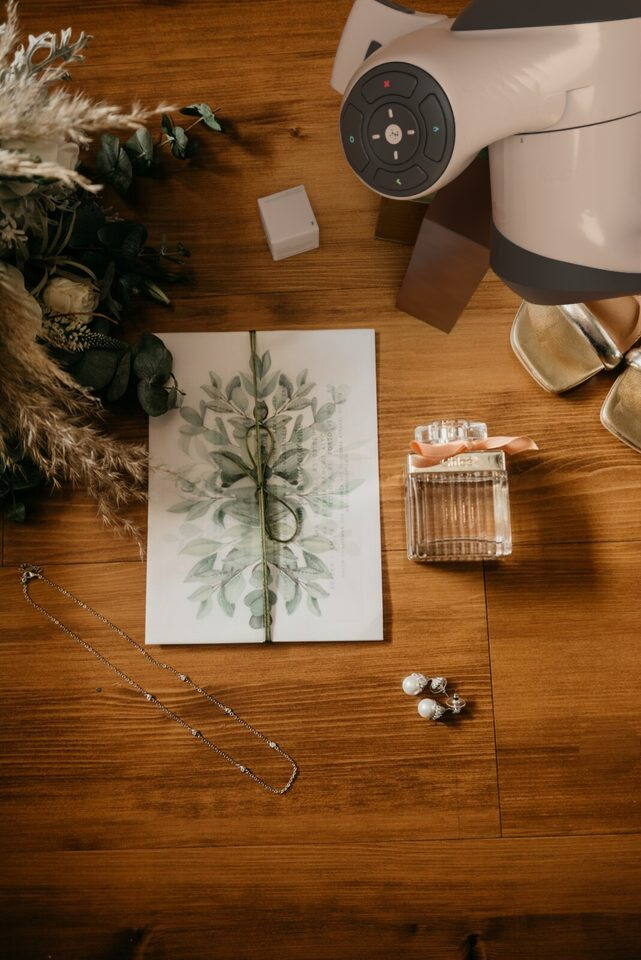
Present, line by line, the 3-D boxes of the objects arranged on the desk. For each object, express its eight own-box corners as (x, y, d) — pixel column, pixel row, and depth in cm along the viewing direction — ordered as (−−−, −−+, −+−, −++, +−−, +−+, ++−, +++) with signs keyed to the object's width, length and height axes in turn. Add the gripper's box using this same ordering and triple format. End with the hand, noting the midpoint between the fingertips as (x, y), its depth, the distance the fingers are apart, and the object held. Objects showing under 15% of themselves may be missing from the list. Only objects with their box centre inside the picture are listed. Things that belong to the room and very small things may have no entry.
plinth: (475, 282, 84) (534, 183, 61) (448, 334, 83) (497, 254, 60) (421, 255, 84) (460, 147, 61) (394, 307, 83) (423, 217, 61)
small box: (305, 203, 85) (304, 182, 80) (320, 248, 84) (320, 229, 79) (259, 218, 84) (255, 198, 79) (274, 263, 84) (271, 245, 79)
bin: (492, 158, 85) (516, 103, 75) (476, 256, 84) (499, 215, 73) (390, 141, 85) (400, 84, 75) (374, 239, 84) (381, 195, 74)
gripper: (603, 110, 49) (607, 82, 60) (338, -19, 50) (388, -24, 61) (554, 197, 53) (565, 156, 64) (309, 77, 54) (361, 56, 65)
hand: (477, 68), depth 62 cm, fingers closed on packet, 4 cm apart
